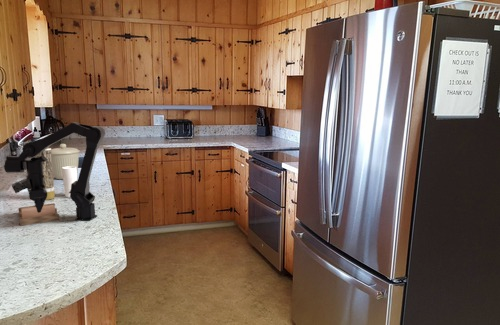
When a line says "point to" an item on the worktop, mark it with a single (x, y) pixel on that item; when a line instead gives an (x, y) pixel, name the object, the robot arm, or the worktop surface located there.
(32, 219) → the brown ridged slab
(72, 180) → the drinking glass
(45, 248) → the worktop surface
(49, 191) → the bark textured cylinder
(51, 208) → the peach long block
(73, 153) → the canister
